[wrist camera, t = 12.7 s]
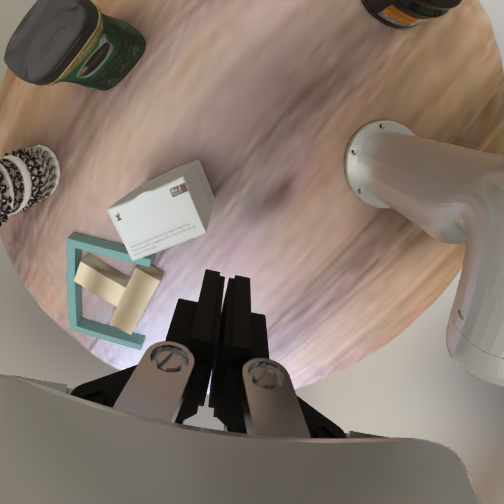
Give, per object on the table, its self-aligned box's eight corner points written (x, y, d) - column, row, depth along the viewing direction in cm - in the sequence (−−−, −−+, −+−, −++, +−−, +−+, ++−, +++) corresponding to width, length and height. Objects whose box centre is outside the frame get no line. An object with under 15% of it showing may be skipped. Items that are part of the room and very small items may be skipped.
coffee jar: (117, 16, 30) (48, -30, 13) (155, 45, 33) (98, 2, 16) (72, 69, 33) (-14, 58, 16) (107, 99, 35) (26, 98, 18)
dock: (154, 252, 45) (150, 259, 42) (144, 340, 51) (140, 350, 49) (74, 232, 43) (66, 238, 40) (75, 320, 50) (69, 328, 47)
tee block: (164, 271, 46) (160, 281, 43) (135, 324, 50) (130, 335, 47) (96, 232, 43) (88, 239, 40) (75, 289, 47) (67, 298, 44)
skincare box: (162, 218, 43) (129, 266, 29) (145, 178, 40) (101, 211, 27) (218, 196, 42) (208, 238, 28) (202, 154, 39) (182, 176, 26)
